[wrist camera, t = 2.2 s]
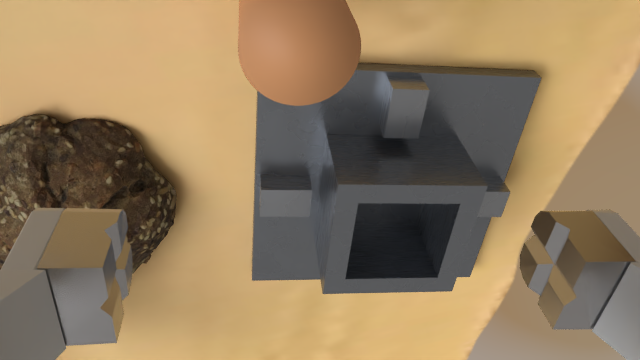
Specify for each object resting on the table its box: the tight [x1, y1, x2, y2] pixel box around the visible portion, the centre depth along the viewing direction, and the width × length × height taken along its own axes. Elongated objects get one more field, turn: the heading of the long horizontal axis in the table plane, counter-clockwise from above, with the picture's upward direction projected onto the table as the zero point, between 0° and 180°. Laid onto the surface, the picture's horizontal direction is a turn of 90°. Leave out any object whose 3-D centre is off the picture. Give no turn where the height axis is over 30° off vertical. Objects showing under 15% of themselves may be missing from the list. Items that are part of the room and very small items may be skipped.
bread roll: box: [0, 115, 176, 274], centre depth 31 cm, size 13×12×5 cm
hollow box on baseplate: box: [252, 63, 541, 294], centre depth 32 cm, size 16×16×6 cm
